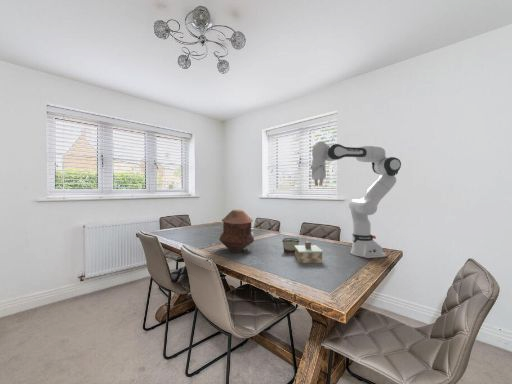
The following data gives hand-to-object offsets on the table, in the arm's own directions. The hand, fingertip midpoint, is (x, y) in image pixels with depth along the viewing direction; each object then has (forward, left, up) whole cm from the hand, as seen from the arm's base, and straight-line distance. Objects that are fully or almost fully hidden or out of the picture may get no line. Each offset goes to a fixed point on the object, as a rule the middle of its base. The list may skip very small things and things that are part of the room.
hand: (318, 185), depth 161 cm
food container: (+18, -6, -48) cm, 52 cm away
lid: (+10, +12, -41) cm, 44 cm away
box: (+10, +12, -48) cm, 51 cm away
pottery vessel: (+57, -13, -48) cm, 76 cm away
